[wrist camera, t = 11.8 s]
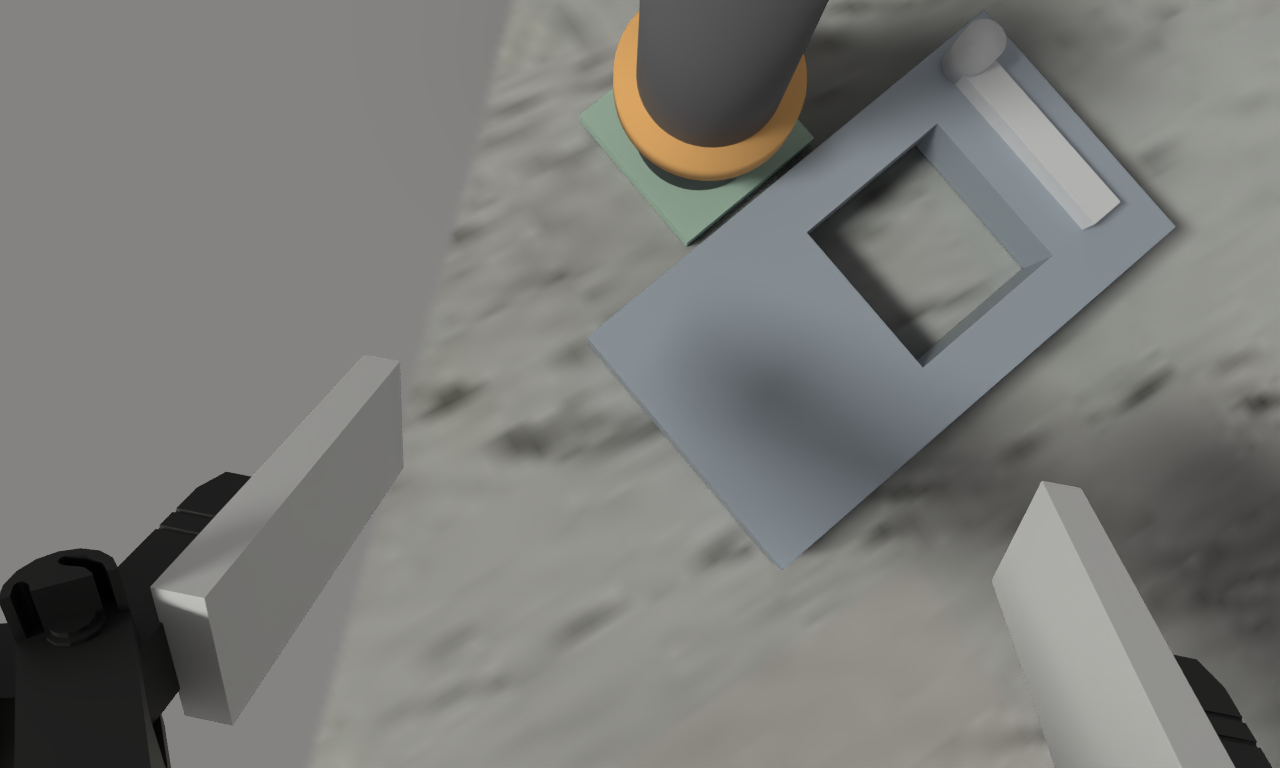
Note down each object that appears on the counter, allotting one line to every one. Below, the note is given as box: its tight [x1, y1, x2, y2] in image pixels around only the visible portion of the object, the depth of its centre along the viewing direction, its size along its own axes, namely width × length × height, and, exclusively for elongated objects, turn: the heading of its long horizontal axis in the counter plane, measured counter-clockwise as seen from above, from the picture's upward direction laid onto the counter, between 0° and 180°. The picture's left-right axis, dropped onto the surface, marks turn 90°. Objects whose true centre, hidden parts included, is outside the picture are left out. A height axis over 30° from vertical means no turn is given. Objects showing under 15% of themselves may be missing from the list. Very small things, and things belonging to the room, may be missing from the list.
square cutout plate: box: [587, 10, 1176, 570], centre depth 27 cm, size 10×18×4 cm, turn 130°
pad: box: [580, 89, 814, 246], centre depth 29 cm, size 6×6×1 cm
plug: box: [613, 0, 829, 190], centre depth 22 cm, size 6×6×13 cm
